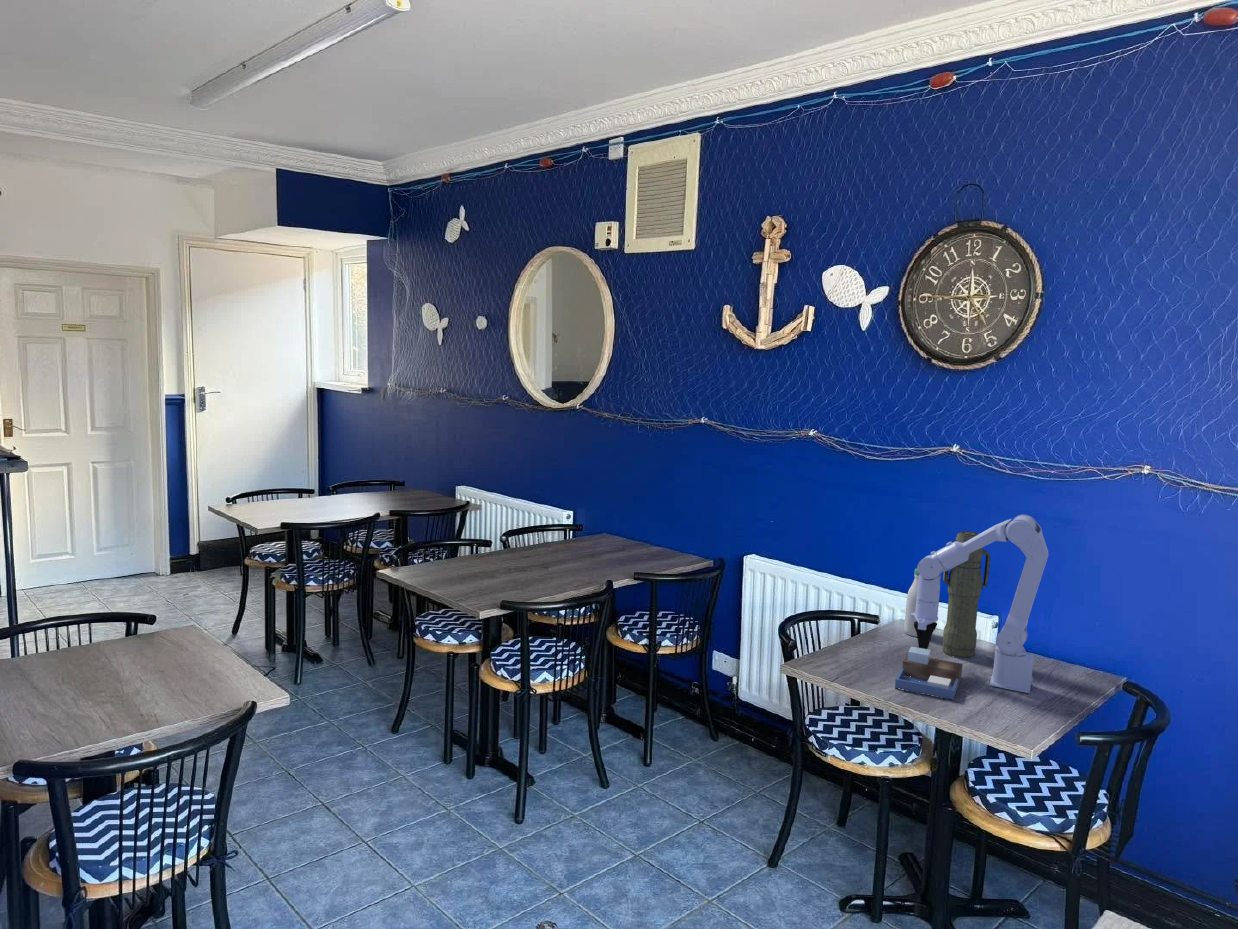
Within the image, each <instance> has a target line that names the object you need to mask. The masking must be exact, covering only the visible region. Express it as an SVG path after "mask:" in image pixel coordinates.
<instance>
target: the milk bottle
mask: <svg viewBox="0 0 1238 929" xmlns="http://www.w3.org/2000/svg"><path fill="white" fill-rule="evenodd" d="M913 576H914V579H913V581H912V584H911V586H910V587H909V589H908V591H907V595H906V601H905V602H906V604H905V612H904V614H905V615H904V625H903V627H904V628H903V631H904V633H905V634H906V635H908V636H912V637H917V633H916V630H915V628H914V622H915V621H917V620H916V619H915V618H914V617H911V616H910V615H911V613H915V611H916V600H917V588H918V582H919V573H918V571H917V567H916V568H915V569H914V575H913ZM917 638H918V637H917Z"/></svg>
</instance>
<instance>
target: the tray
mask: <svg viewBox="0 0 1238 929" xmlns="http://www.w3.org/2000/svg"><path fill="white" fill-rule="evenodd" d="M919 681H920V682H919ZM927 681H928V680H925V679H920V678H915V677H910V676H905V675H904V668H902V667H901V668H900V671H899V672H898V673H897V676H896V678H895V683H894V689H895V688H900V689H904V690H908V691H907V692H909V691H912V692H911V693H914V692H917V693H916V694H919V693H924V694H929V695H934V696H938V697H942V698H941V699H943V698H945V699H944V700H948V699H952V700H951V701H954V700H955V698H954V697H956V695H957V692H958V688H959V686H958V681H959V679H957V678H956V680H955V683H954V685H951V687H950V689H947V688H942V687H937V686H932V685H927ZM904 690H903V691H904ZM956 691H957V692H956ZM924 694H923V695H924ZM955 694H956V695H955ZM929 695H928V696H929ZM934 696H933V697H934ZM938 697H937V698H938Z"/></svg>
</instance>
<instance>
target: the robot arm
mask: <svg viewBox="0 0 1238 929" xmlns="http://www.w3.org/2000/svg"><path fill="white" fill-rule="evenodd" d="M978 534H979V535H977V536H975V537H973V538H972V539H970V540H968V541H966V542H965V543H961V542H957V541H955V540H954V542H952V541H948V542H947V543H946V544H945V546H944V547H942V548H940V549H938V550H937V551H935V550H933V551H930V554H928V555H926V556H925V557H924V558H922V559H920V561H919V562H918V564H917V567H916V568H917V571H918V573H919V582H918V588H917V600H916V611H915V613H911V615H910V616H911V617H914V618H915V619H916V620H917V621H915V622H914V628H915V630H916V633H917V644H918V648H923V649H928V650H929V646H930V642H931V639H932V635H933V633H934V631H935V630H936V629H937V626H938V620H939V615H938V614H939V604H940V594H941V592H940V591H941V578H942V574H943V573H944V571H948V572H949V571H950V570H951V569H952V568H954V567H956V566H958V565H960V564H962V563H963V562H965V561H967V560H968V558H969V554H970V553H972V552H974V551H976V550H978V549H980V548H982V547H983V548H984V547H986V546H989V545H990V544H992V543H994V542H1001V543H1002V542H1003V543H1007V542H1008V541H1010V542H1011V543H1012V544H1014V545H1015V546H1016V547H1018V548H1019V549H1020V551H1021V552H1022V553H1023V555H1024V556H1025V558H1026V559H1025V562H1024V565H1023V568H1022V571H1021V575H1020V576H1019V577H1020V578H1019V581H1018V584H1017V587H1016V591H1015V594H1014V597H1013V600H1012V603H1011V605H1010V610H1009V612H1008V615H1007V618H1006V621H1005V624H1004V625H1003V627H1002V628H1001V631H1000V632H999V633H997V636H996V637H995V643H996V646H995V649H994V660H993V669H992V675H990V676H991V677H990V681H989V686H990V687H994V688H999V689H1000V688H1001V689H1005V690H1009V691H1010V690H1011V691H1015V692H1020V693H1021V692H1022V693H1027V694H1030V692H1031V686H1032V685H1033V683H1034V682H1033V681H1034V676H1033V669H1034V658H1035V657H1034V656H1035V655H1033V654H1029V653H1027V651H1026V649H1025V647H1024V644H1025V642H1026V641H1027V639H1028V630H1027V626H1028V623H1029V618H1030V614H1031V612H1032V609H1033V605H1034V602H1035V599H1036V596H1037V593H1038V589H1039V586H1040V583H1041V581H1042V577H1043V574H1044V571H1045V567H1046V564H1047V561H1048V558H1049V549H1048V547H1047V544H1046V539H1045V538H1044V535H1043V529H1042V527H1041V525H1040V524H1039V523H1038V522H1037V520H1036V519H1035V518H1033V517H1032V516H1030V515H1027V514H1019V515H1016V516H1015V517H1013V518H1009V519H1006V520H1004V521H1002V522H998V523H997V524H995V525H992V526H991V527H989V528H987V529H986V530H984V531H983V532H982V531H981V533H978Z"/></svg>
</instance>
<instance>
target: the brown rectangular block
mask: <svg viewBox="0 0 1238 929" xmlns="http://www.w3.org/2000/svg"><path fill="white" fill-rule="evenodd" d="M902 668H904V675H905V676H911V677H915V678H920V679H925V680H928V679H929V677H930V675H932V676H937V677H942V678H947V679H951V685H954V683H955V680H956V678H957V679H959V681H958V687H959V685H960V683H961V680H962V672H963V663H959V662H956V661H955V662H954V661H950V660H944V659H938V658H932V657H930V660H929V662H928V665H926V664H921V663H916V662H910V661H908V653H906V655H905V656H904V658H903V661H902V667H901V669H902Z"/></svg>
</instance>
